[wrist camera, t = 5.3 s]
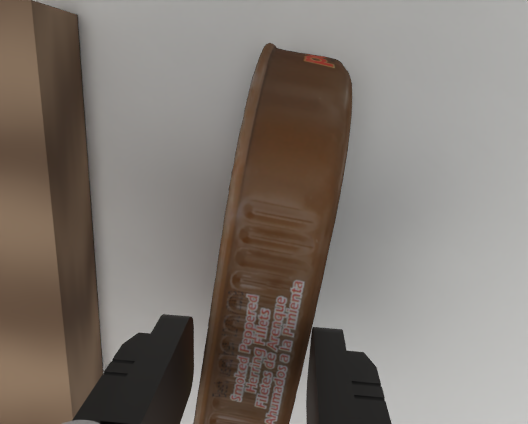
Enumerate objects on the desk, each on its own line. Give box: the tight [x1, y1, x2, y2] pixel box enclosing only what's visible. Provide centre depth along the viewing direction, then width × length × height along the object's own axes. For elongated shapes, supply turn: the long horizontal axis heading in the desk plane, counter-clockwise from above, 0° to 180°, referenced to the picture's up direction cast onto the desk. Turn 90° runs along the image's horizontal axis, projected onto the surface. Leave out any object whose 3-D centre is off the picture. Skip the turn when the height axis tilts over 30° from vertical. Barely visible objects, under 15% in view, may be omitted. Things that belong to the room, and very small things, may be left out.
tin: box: [193, 43, 352, 424], centre depth 15 cm, size 15×3×8 cm, turn 170°
